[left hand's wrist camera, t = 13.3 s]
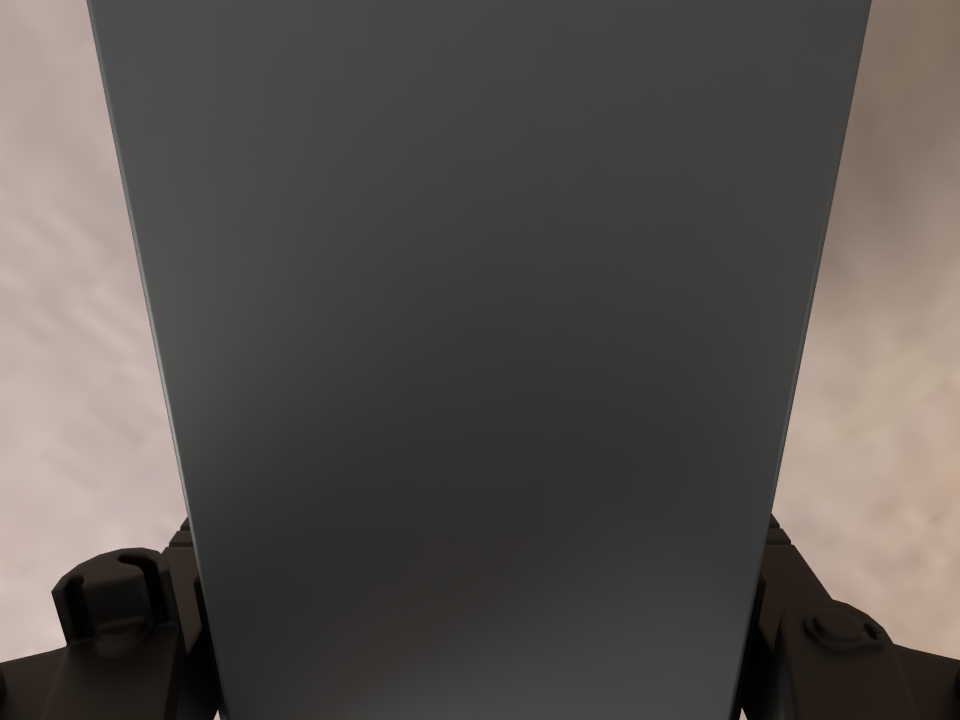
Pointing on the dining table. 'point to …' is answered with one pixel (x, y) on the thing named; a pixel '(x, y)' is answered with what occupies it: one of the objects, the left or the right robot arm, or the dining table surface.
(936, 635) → the dining table surface
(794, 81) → the bar
